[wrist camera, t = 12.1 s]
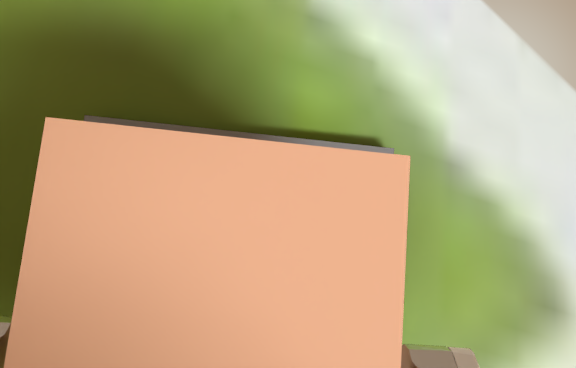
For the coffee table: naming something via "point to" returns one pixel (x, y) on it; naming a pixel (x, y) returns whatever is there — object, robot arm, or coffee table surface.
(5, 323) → the robot arm
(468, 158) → the coffee table surface
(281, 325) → the peach foam cube
